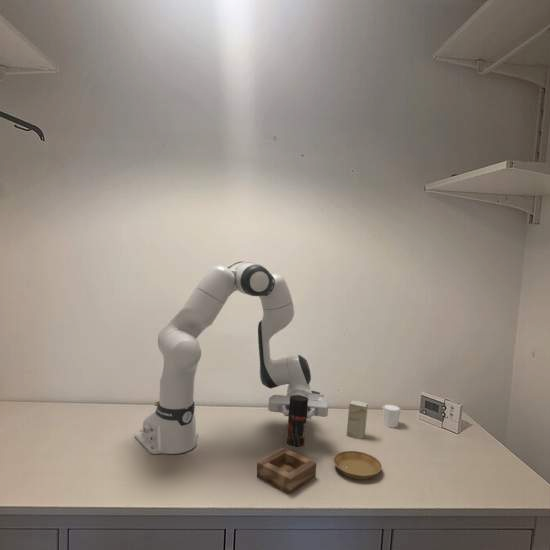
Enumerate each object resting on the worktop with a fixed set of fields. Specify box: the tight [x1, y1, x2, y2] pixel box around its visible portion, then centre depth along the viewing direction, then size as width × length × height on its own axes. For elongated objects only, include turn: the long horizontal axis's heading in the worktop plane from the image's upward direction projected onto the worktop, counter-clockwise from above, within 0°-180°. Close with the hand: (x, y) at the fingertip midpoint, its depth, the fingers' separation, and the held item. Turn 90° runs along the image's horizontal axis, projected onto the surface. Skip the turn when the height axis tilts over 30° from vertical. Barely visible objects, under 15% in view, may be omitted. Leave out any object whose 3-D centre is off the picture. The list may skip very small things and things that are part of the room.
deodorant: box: [286, 395, 308, 448], centre depth 140 cm, size 6×6×15 cm
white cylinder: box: [382, 403, 401, 428], centre depth 168 cm, size 7×7×7 cm
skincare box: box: [346, 399, 369, 440], centre depth 157 cm, size 6×4×12 cm
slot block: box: [256, 447, 317, 496], centre depth 127 cm, size 12×12×4 cm
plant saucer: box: [333, 450, 382, 480], centre depth 134 cm, size 15×15×3 cm
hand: (297, 415), depth 139 cm, fingers closed on deodorant, 6 cm apart
